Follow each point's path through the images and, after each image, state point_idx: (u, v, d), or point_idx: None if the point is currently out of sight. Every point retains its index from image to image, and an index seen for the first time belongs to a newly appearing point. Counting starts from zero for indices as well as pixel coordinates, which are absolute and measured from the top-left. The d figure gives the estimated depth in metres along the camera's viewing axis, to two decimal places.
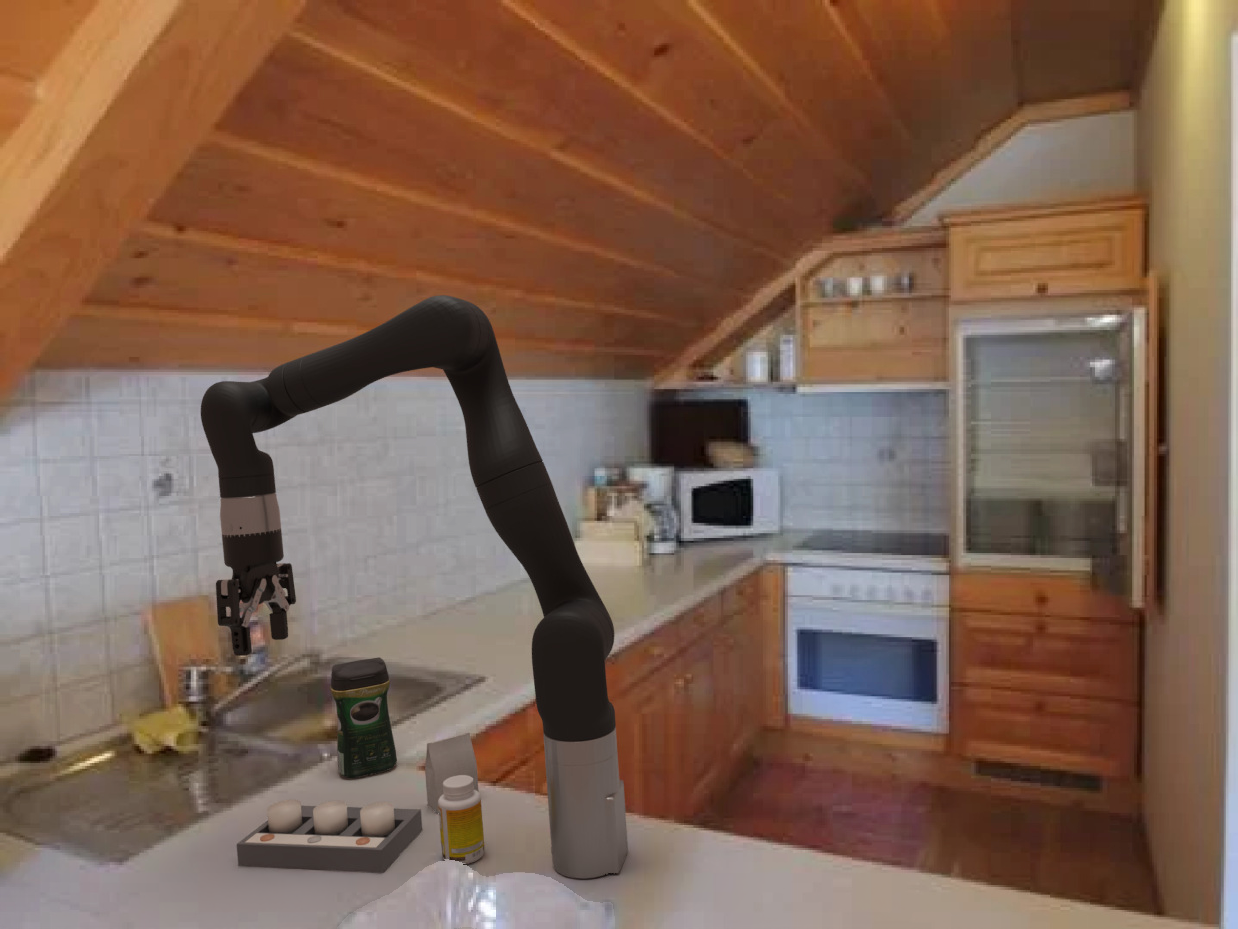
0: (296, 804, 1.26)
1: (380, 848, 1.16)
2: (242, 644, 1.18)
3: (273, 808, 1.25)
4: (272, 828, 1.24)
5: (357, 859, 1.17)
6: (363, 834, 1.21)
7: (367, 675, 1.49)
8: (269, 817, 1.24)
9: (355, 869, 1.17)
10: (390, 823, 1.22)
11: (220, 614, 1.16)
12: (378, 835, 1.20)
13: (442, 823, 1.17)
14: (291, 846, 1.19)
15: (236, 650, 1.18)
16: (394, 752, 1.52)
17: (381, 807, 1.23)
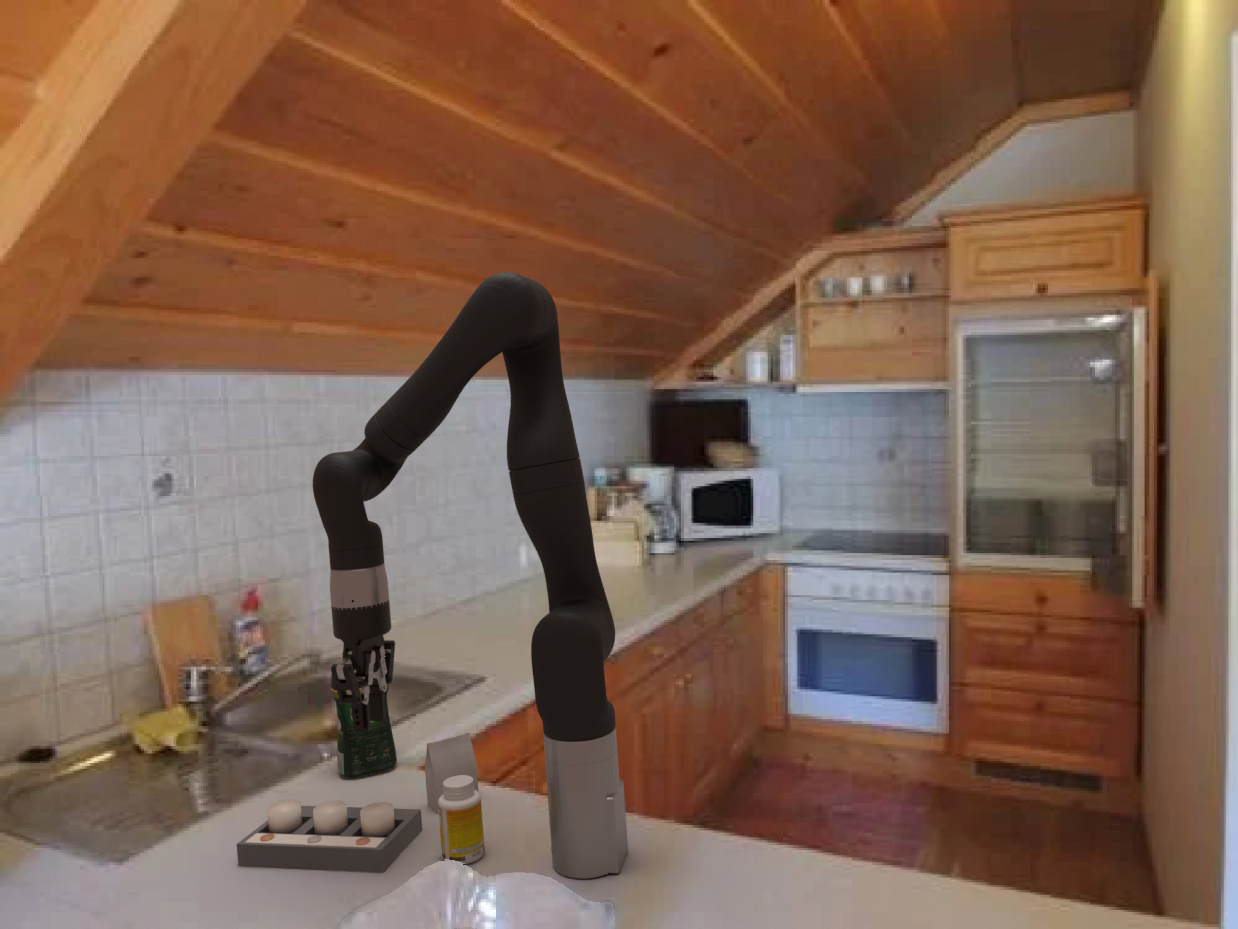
0: (296, 804, 1.26)
1: (380, 848, 1.16)
2: (362, 721, 1.19)
3: (273, 808, 1.25)
4: (272, 828, 1.24)
5: (357, 859, 1.17)
6: (363, 834, 1.21)
7: None
8: (269, 817, 1.24)
9: (355, 869, 1.17)
10: (390, 823, 1.22)
11: (341, 695, 1.17)
12: (378, 835, 1.20)
13: (442, 823, 1.17)
14: (291, 846, 1.19)
15: (356, 727, 1.19)
16: (394, 752, 1.52)
17: (381, 807, 1.23)
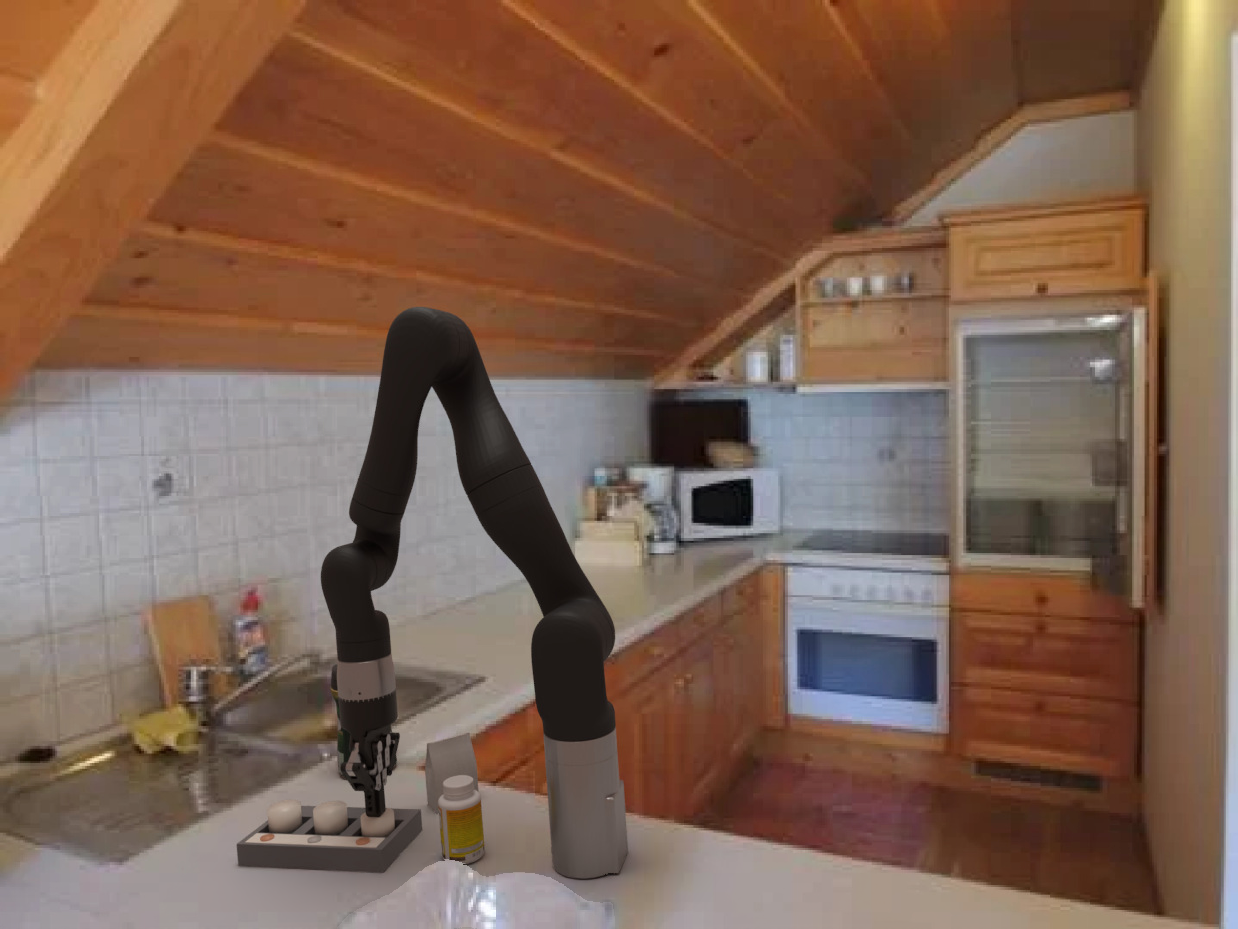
0: (296, 804, 1.26)
1: (380, 848, 1.16)
2: (375, 807, 1.21)
3: (273, 808, 1.25)
4: (272, 828, 1.24)
5: (357, 859, 1.17)
6: None
7: None
8: (269, 817, 1.24)
9: (355, 869, 1.17)
10: (390, 829, 1.22)
11: (354, 786, 1.19)
12: None
13: (442, 823, 1.17)
14: (291, 846, 1.19)
15: (369, 813, 1.21)
16: None
17: None
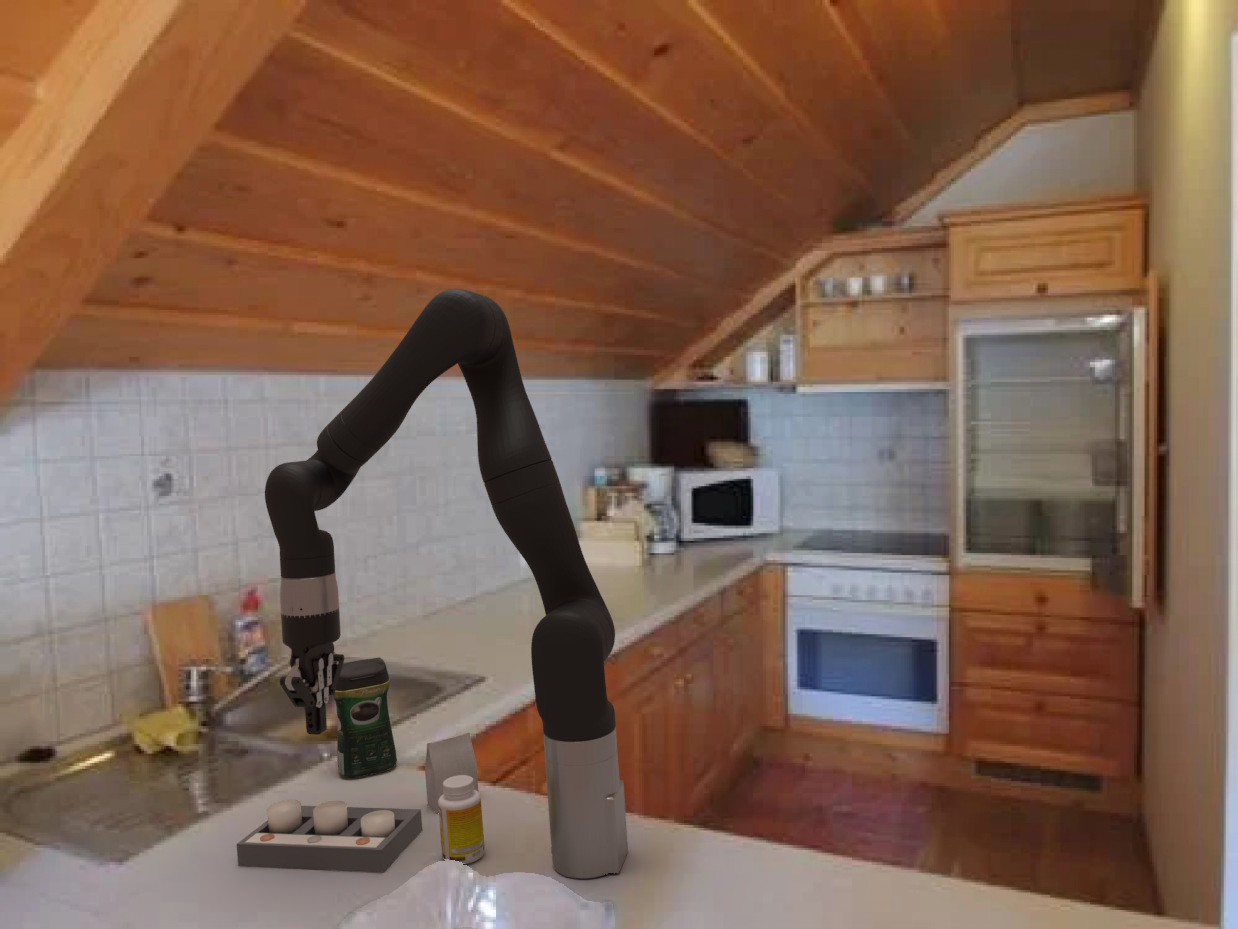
0: (296, 804, 1.26)
1: (380, 848, 1.16)
2: (316, 724, 1.22)
3: (273, 808, 1.25)
4: (272, 828, 1.24)
5: (357, 859, 1.17)
6: None
7: (367, 675, 1.49)
8: (269, 817, 1.24)
9: (355, 869, 1.17)
10: (391, 831, 1.22)
11: (294, 701, 1.20)
12: None
13: (442, 823, 1.17)
14: (291, 846, 1.19)
15: (309, 729, 1.22)
16: (394, 752, 1.52)
17: (382, 815, 1.23)
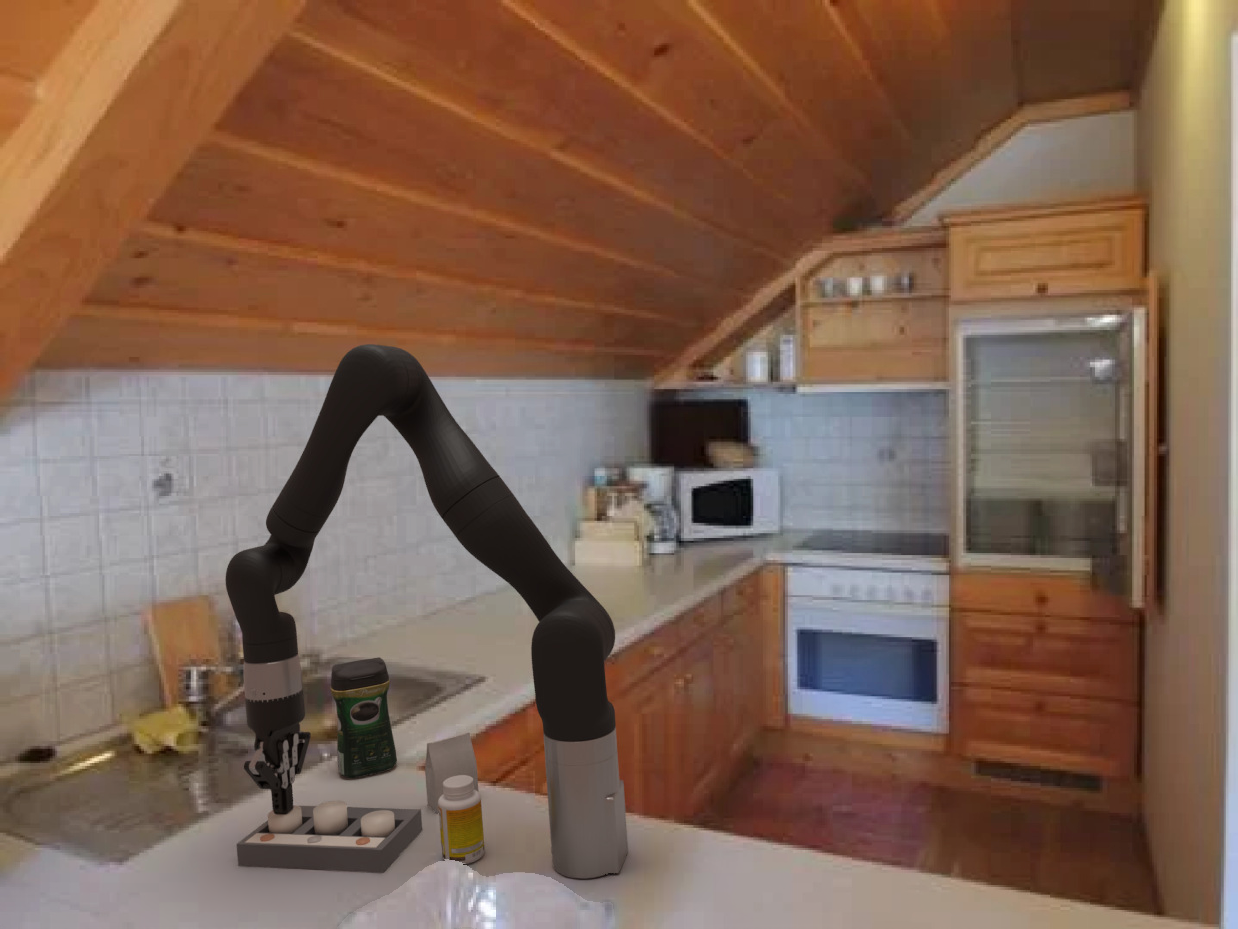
0: (296, 810, 1.26)
1: (380, 848, 1.16)
2: (282, 805, 1.24)
3: (274, 814, 1.25)
4: None
5: (357, 859, 1.17)
6: None
7: (367, 675, 1.49)
8: (269, 823, 1.24)
9: (355, 869, 1.17)
10: (391, 831, 1.22)
11: (259, 784, 1.22)
12: None
13: (442, 823, 1.17)
14: (291, 846, 1.19)
15: (276, 810, 1.24)
16: (394, 752, 1.52)
17: (382, 815, 1.23)
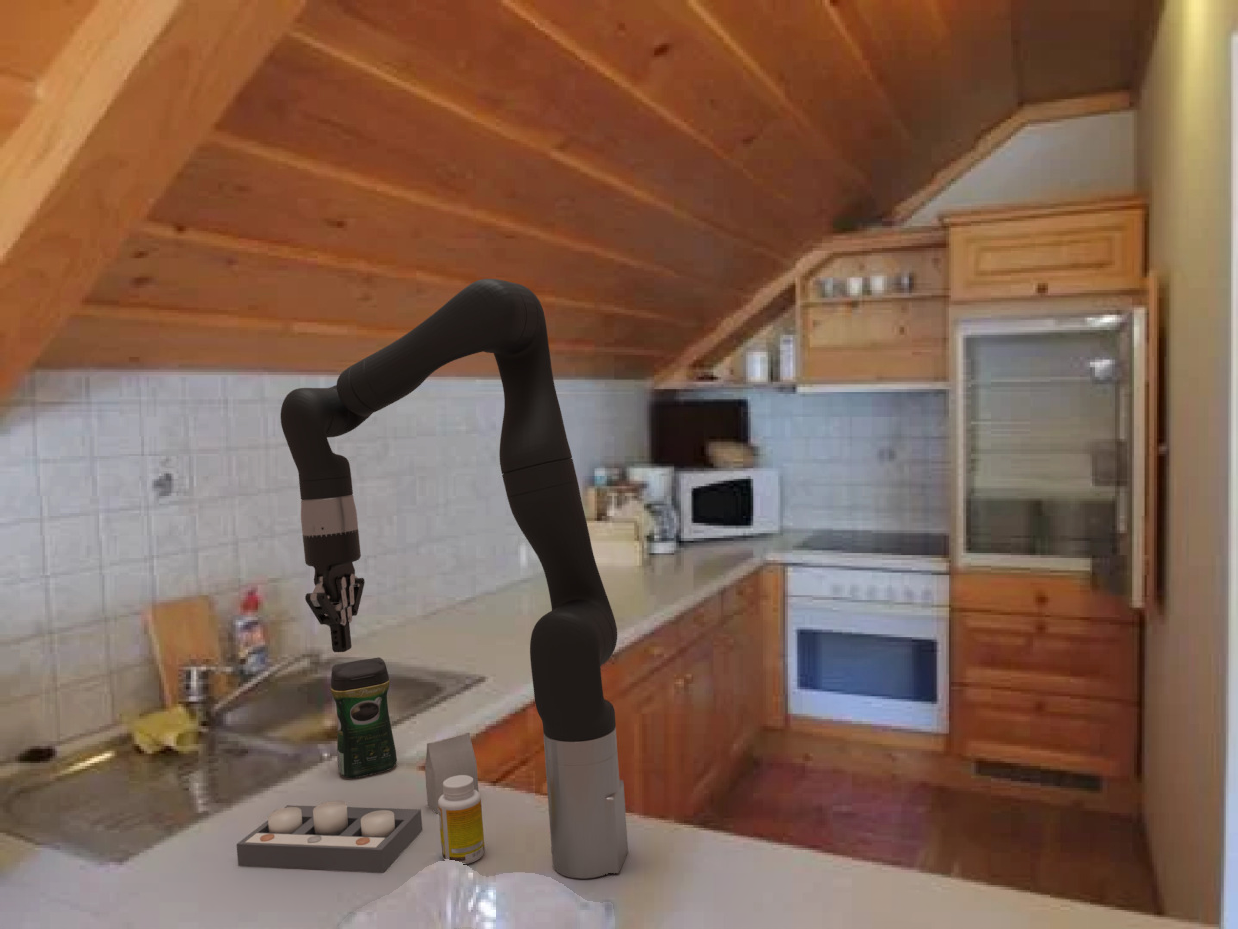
0: (297, 812, 1.26)
1: (380, 848, 1.16)
2: (341, 641, 1.26)
3: (274, 816, 1.25)
4: None
5: (357, 859, 1.17)
6: None
7: (367, 675, 1.49)
8: (270, 825, 1.24)
9: (355, 869, 1.17)
10: (391, 831, 1.22)
11: (320, 618, 1.24)
12: None
13: (442, 823, 1.17)
14: (291, 846, 1.19)
15: (335, 647, 1.27)
16: (394, 752, 1.52)
17: (382, 815, 1.23)
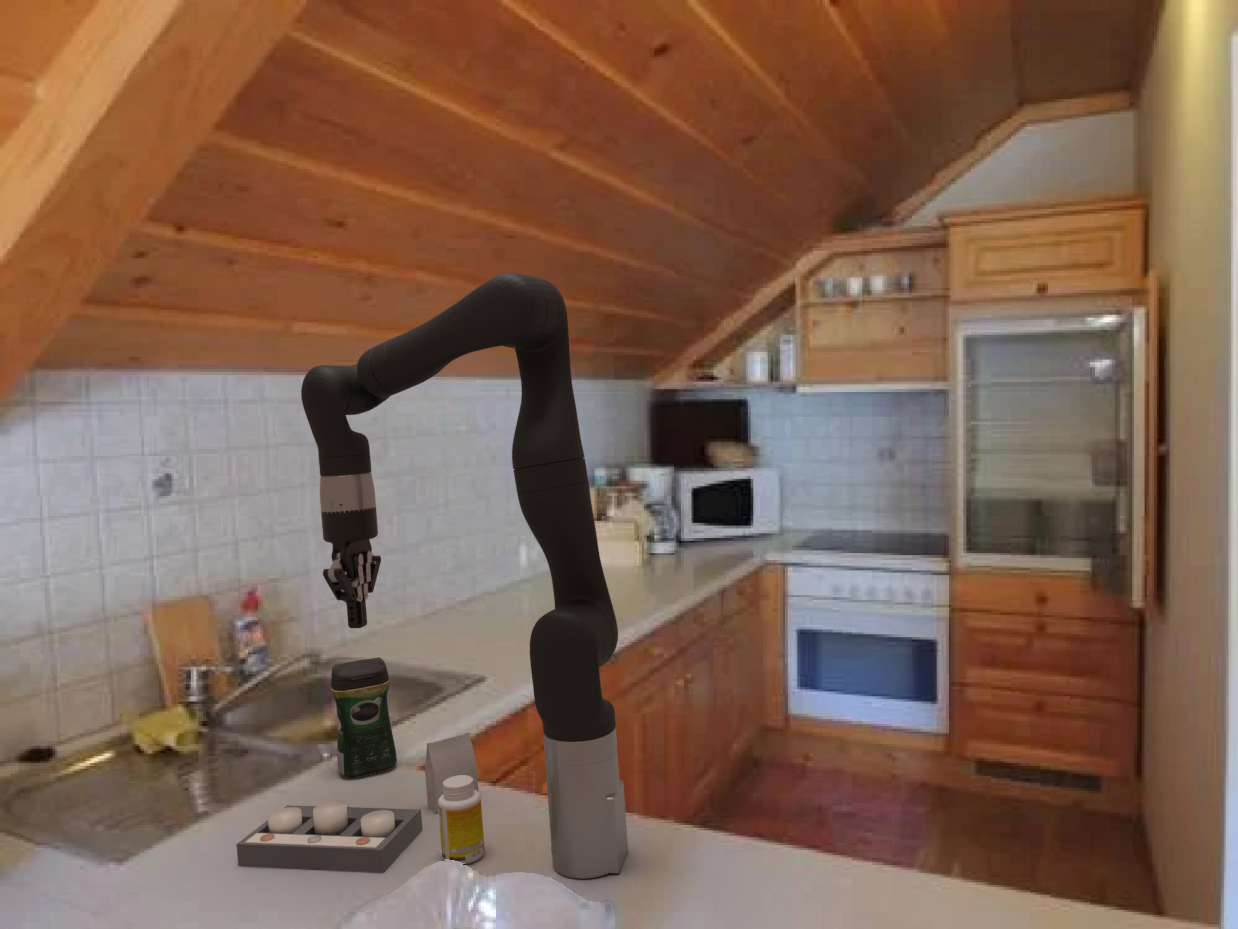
0: (297, 812, 1.26)
1: (380, 848, 1.16)
2: (357, 617, 1.28)
3: (274, 816, 1.25)
4: None
5: (357, 859, 1.17)
6: None
7: (367, 675, 1.49)
8: (270, 825, 1.24)
9: (355, 869, 1.17)
10: (391, 831, 1.22)
11: (336, 594, 1.25)
12: None
13: (442, 823, 1.17)
14: (291, 846, 1.19)
15: (351, 623, 1.28)
16: (394, 752, 1.52)
17: (382, 815, 1.23)
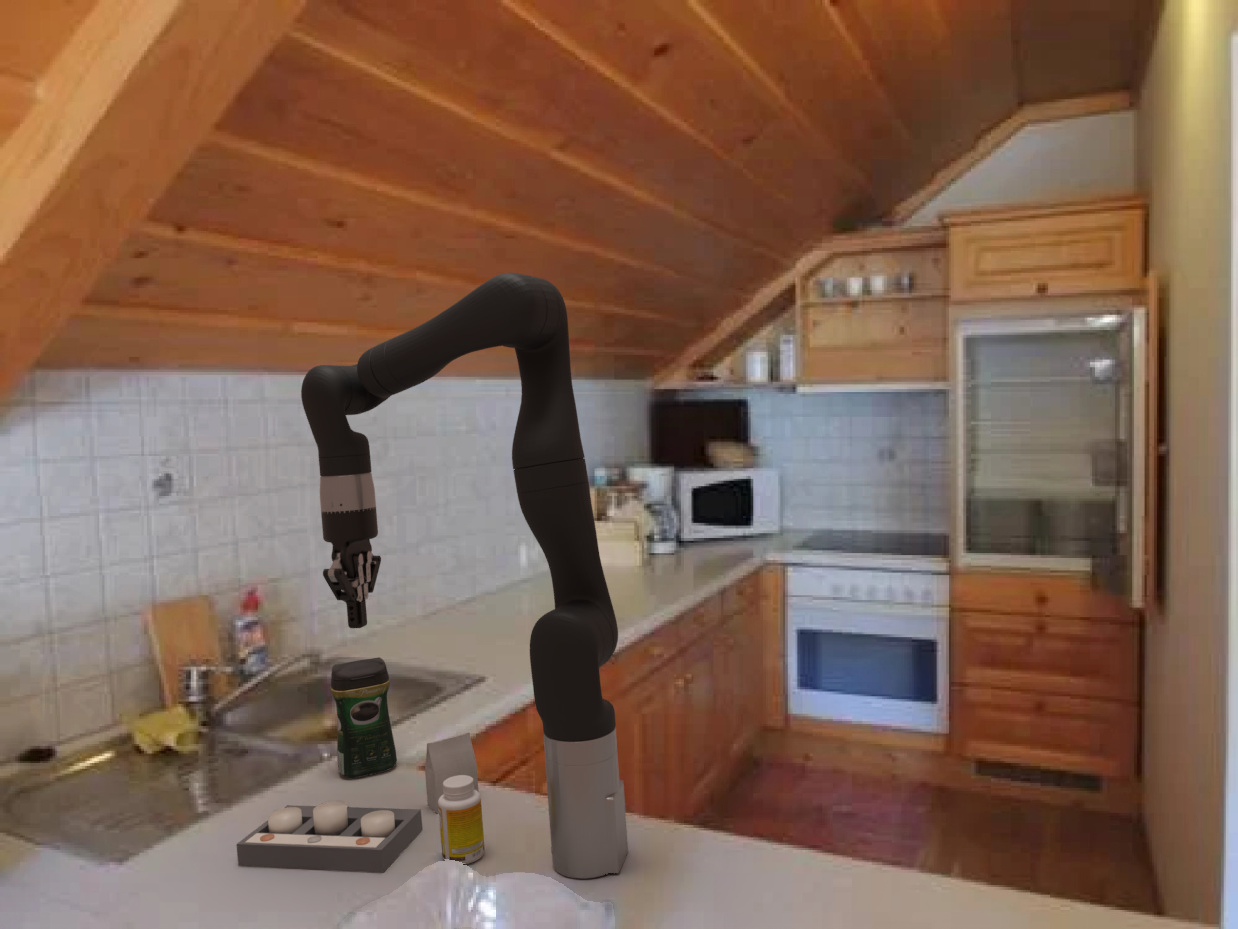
0: (297, 812, 1.26)
1: (380, 848, 1.16)
2: (357, 617, 1.28)
3: (274, 816, 1.25)
4: None
5: (357, 859, 1.17)
6: None
7: (367, 675, 1.49)
8: (270, 825, 1.24)
9: (355, 869, 1.17)
10: (391, 831, 1.22)
11: (336, 594, 1.25)
12: None
13: (442, 823, 1.17)
14: (291, 846, 1.19)
15: (351, 623, 1.28)
16: (394, 752, 1.52)
17: (382, 815, 1.23)
